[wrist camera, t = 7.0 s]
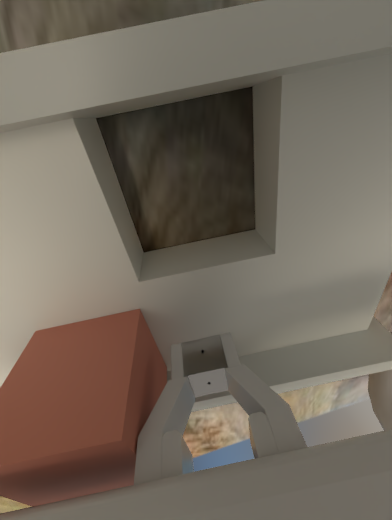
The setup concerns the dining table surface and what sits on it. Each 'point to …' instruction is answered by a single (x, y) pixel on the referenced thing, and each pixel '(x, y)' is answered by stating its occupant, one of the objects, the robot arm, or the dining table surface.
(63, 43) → the tray
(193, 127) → the dining table surface
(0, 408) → the block
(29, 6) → the dining table surface
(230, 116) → the dining table surface
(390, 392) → the donut
